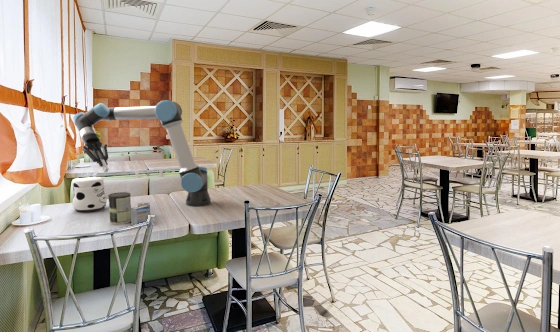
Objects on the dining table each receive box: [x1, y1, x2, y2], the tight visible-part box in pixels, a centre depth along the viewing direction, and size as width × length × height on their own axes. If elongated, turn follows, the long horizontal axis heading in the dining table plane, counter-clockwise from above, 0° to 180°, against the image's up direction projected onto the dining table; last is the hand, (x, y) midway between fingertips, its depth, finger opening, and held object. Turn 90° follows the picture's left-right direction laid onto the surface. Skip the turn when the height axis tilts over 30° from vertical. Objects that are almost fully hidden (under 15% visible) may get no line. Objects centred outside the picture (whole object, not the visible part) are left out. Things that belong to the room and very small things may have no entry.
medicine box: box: [130, 205, 151, 226], centre depth 172 cm, size 8×4×9 cm, turn 148°
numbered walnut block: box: [137, 202, 151, 207], centre depth 185 cm, size 6×6×7 cm
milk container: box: [72, 176, 108, 212], centre depth 200 cm, size 17×17×18 cm
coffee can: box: [107, 191, 132, 225], centre depth 176 cm, size 10×10×14 cm
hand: (106, 170), depth 184 cm, fingers closed
